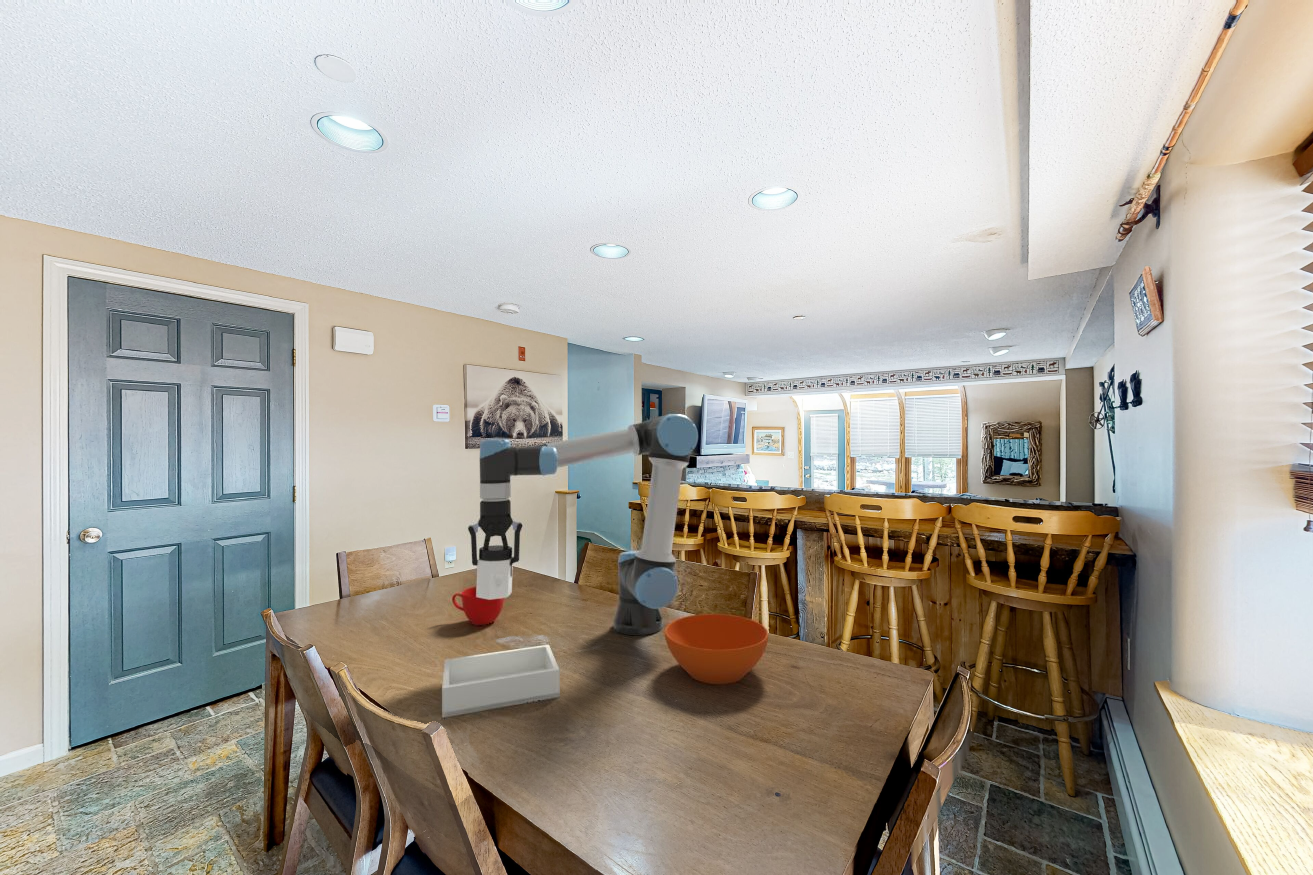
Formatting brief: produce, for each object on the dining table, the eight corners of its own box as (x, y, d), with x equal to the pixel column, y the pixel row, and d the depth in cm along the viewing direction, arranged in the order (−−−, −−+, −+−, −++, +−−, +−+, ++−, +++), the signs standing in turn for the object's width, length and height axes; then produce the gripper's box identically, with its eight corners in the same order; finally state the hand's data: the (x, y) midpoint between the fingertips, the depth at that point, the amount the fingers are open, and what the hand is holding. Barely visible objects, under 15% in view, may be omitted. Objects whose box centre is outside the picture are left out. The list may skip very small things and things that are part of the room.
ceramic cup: (463, 614, 172) (462, 584, 173) (511, 616, 170) (511, 585, 170) (441, 628, 160) (441, 595, 160) (493, 629, 157) (493, 596, 157)
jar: (480, 601, 126) (482, 551, 127) (472, 593, 133) (474, 546, 133) (516, 596, 131) (518, 549, 131) (507, 589, 138) (508, 544, 138)
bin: (549, 668, 129) (548, 644, 129) (559, 696, 114) (559, 669, 114) (445, 685, 121) (445, 659, 121) (442, 717, 106) (442, 688, 106)
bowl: (778, 659, 132) (778, 620, 133) (754, 704, 110) (753, 657, 110) (687, 645, 143) (686, 609, 143) (647, 683, 120) (647, 640, 120)
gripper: (528, 496, 139) (529, 584, 138) (460, 499, 133) (460, 590, 133) (530, 499, 132) (531, 591, 131) (459, 502, 126) (459, 598, 126)
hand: (496, 590), depth 132 cm, fingers closed on jar, 4 cm apart
